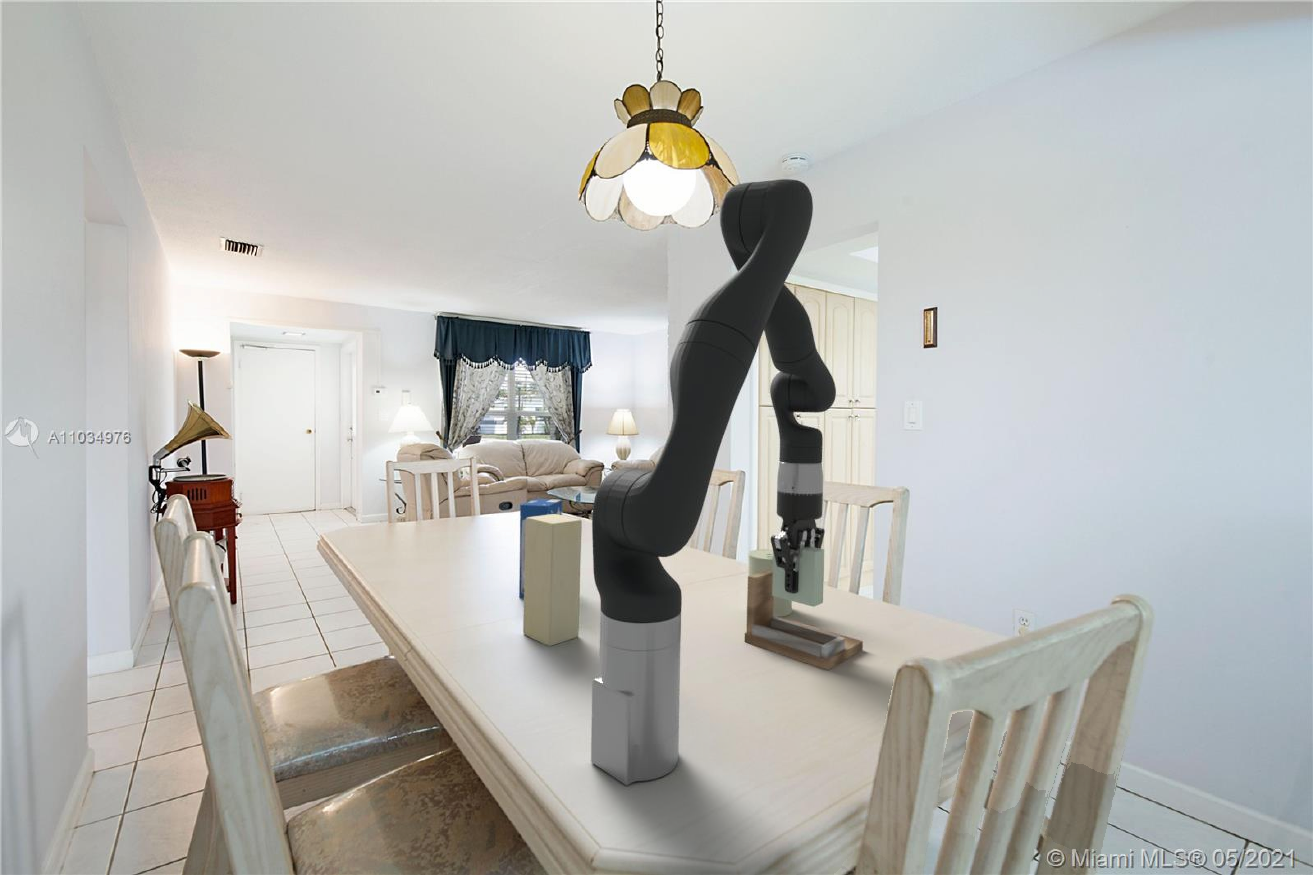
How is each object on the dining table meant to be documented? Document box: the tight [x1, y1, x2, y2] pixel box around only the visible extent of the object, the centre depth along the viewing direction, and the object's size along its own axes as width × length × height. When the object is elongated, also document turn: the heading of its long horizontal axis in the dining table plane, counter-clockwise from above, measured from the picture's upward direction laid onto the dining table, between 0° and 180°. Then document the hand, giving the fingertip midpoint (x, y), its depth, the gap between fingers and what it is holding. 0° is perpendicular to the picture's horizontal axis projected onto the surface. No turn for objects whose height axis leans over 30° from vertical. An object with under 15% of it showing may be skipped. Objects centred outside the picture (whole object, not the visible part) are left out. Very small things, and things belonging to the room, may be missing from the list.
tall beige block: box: [522, 514, 583, 647], centre depth 105 cm, size 8×7×21 cm
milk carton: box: [518, 498, 563, 599], centre depth 131 cm, size 10×6×20 cm, turn 172°
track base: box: [744, 571, 864, 671], centre depth 103 cm, size 12×16×12 cm
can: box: [747, 548, 793, 618], centre depth 122 cm, size 9×9×12 cm
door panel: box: [772, 547, 825, 607], centre depth 100 cm, size 3×8×9 cm, turn 45°
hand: (797, 589), depth 101 cm, fingers closed on door panel, 3 cm apart
